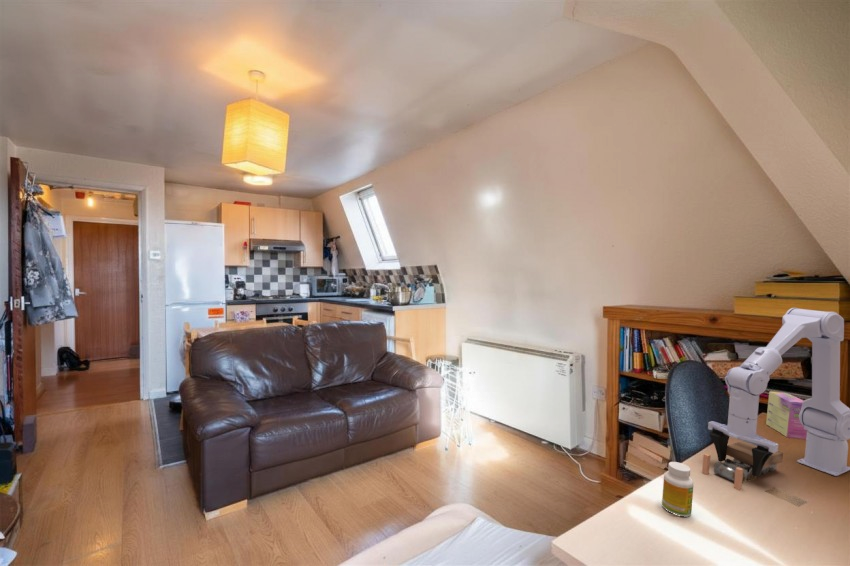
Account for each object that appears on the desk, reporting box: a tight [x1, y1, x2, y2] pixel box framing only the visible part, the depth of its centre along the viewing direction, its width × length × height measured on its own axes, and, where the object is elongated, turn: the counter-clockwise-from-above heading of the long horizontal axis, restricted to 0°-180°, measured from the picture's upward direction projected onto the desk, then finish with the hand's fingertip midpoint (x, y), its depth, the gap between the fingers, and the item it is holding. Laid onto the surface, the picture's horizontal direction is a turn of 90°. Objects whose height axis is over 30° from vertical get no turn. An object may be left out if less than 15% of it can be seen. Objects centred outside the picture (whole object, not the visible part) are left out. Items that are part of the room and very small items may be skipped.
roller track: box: [713, 458, 809, 507], centre depth 98 cm, size 19×16×3 cm
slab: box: [726, 440, 784, 469], centre depth 104 cm, size 10×8×2 cm
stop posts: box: [701, 453, 743, 491], centre depth 98 cm, size 1×8×5 cm, turn 26°
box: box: [765, 391, 807, 440], centre depth 130 cm, size 10×6×12 cm, turn 168°
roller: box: [723, 458, 752, 480], centre depth 101 cm, size 5×3×3 cm, turn 26°
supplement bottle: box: [661, 461, 694, 518], centre depth 85 cm, size 5×5×10 cm
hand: (738, 467), depth 101 cm, fingers open, 7 cm apart
